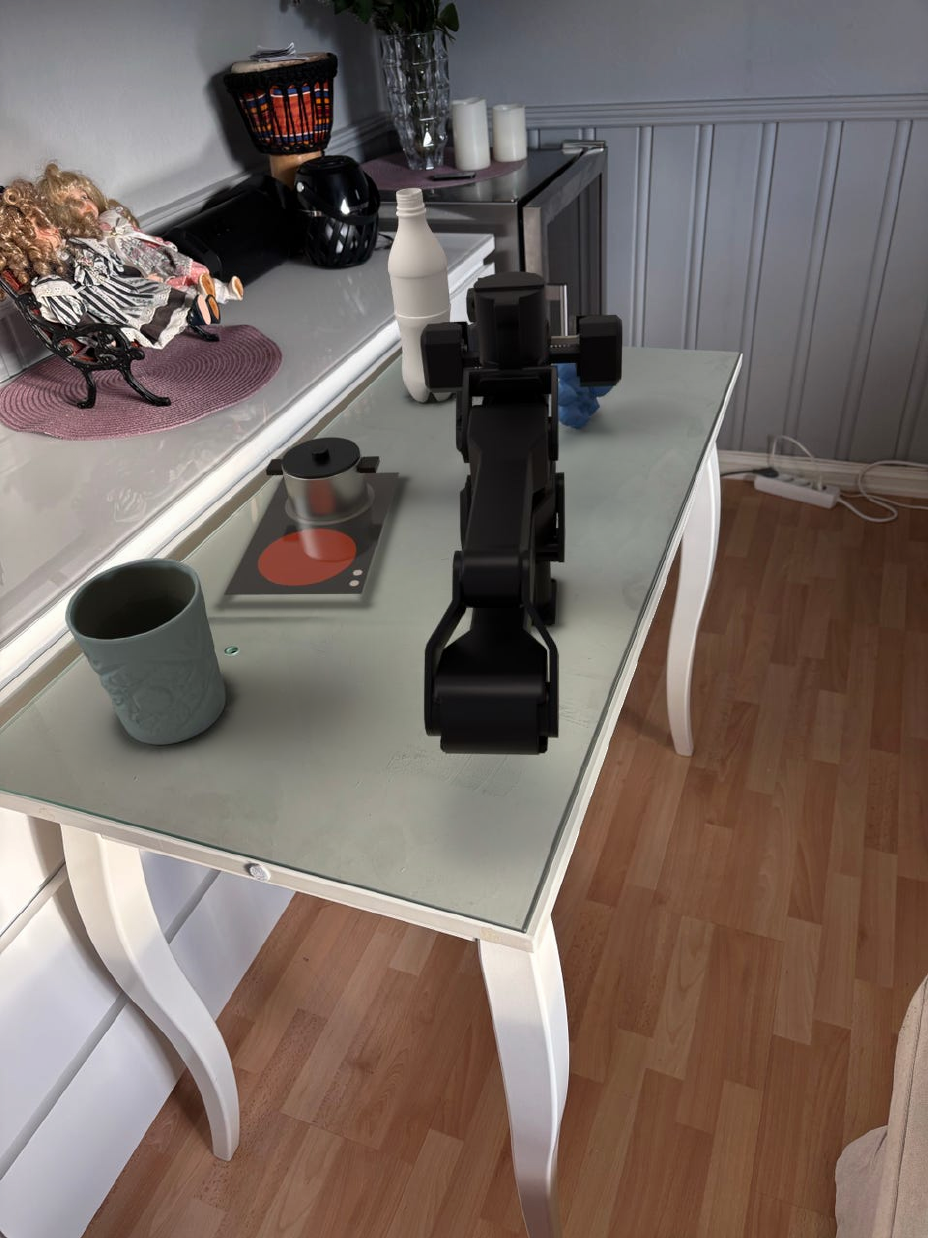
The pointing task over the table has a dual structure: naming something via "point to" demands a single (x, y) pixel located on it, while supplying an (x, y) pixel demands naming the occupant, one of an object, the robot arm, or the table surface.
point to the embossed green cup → (151, 647)
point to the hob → (313, 547)
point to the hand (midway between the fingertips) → (525, 322)
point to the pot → (325, 477)
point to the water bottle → (417, 286)
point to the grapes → (576, 397)
